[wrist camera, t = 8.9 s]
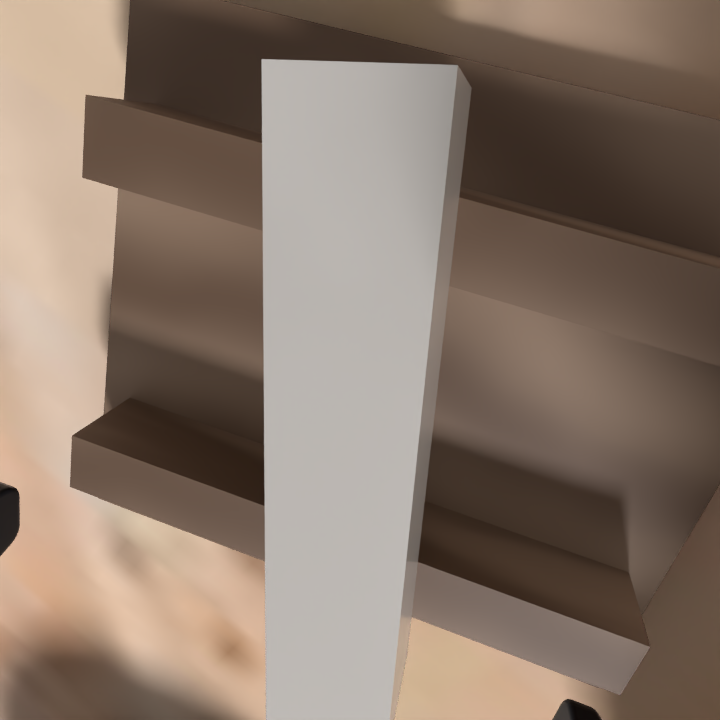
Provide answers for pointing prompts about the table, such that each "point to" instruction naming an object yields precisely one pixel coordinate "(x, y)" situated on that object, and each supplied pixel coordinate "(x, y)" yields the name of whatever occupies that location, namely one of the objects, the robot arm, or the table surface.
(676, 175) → the walnut rack
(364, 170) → the light gray rectangular bar
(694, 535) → the table surface
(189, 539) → the table surface
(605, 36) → the table surface
